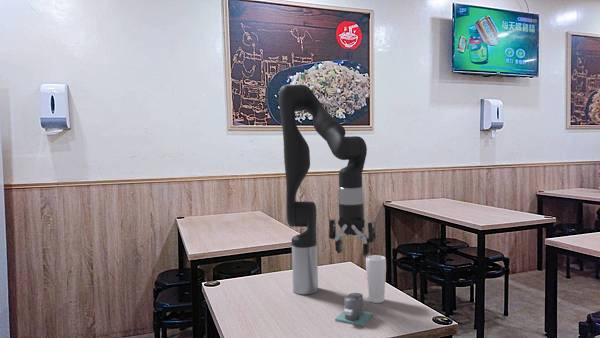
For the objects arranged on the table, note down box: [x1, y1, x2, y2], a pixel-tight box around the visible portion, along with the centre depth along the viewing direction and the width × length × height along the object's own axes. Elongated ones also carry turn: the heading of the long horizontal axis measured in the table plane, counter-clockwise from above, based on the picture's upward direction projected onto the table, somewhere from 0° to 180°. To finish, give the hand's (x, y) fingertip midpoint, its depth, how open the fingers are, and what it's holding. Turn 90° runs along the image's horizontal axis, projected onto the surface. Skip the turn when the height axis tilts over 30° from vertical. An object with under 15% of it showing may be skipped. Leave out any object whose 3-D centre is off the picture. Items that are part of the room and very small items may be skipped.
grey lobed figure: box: [342, 292, 364, 321], centre depth 127 cm, size 9×4×6 cm, turn 151°
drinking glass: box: [365, 254, 387, 304], centre depth 141 cm, size 7×7×15 cm
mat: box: [334, 310, 374, 327], centre depth 128 cm, size 9×9×1 cm
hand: (352, 253), depth 127 cm, fingers open, 8 cm apart
